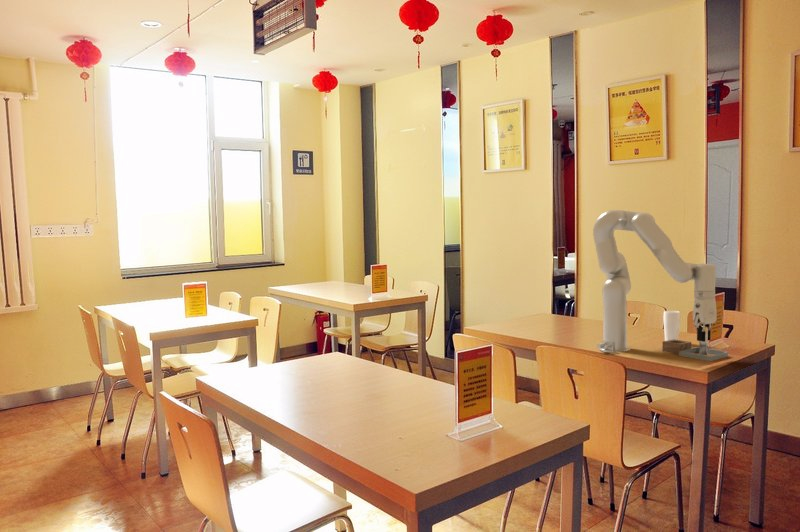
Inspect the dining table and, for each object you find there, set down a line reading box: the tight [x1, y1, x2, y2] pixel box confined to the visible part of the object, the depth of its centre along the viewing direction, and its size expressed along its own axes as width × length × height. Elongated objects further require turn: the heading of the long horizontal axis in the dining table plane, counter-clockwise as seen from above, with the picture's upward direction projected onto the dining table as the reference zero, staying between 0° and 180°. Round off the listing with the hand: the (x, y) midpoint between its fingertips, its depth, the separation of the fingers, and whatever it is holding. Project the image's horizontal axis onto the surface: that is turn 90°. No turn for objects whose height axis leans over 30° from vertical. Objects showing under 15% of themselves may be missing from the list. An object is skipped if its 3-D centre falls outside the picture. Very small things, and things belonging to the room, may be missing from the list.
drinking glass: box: [662, 310, 681, 341], centre depth 282 cm, size 7×7×15 cm
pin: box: [698, 326, 709, 356], centre depth 256 cm, size 3×3×12 cm
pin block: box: [661, 339, 692, 355], centre depth 266 cm, size 8×8×5 cm
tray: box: [678, 346, 729, 362], centre depth 256 cm, size 13×13×3 cm
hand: (703, 340), depth 256 cm, fingers closed on pin, 3 cm apart
